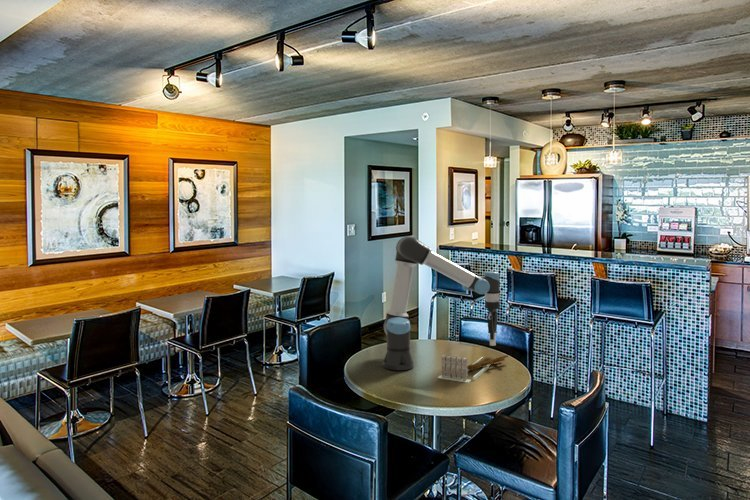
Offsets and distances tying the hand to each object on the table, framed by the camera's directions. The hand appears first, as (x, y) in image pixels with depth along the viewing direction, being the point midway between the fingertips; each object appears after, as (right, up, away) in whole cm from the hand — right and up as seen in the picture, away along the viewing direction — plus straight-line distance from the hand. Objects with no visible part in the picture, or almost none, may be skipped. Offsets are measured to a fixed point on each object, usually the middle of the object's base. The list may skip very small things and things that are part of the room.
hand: (492, 345), depth 264 cm
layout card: (-26, -9, -36) cm, 45 cm away
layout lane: (-12, -8, -20) cm, 25 cm away
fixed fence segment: (-26, -8, -36) cm, 45 cm away
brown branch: (-10, -7, -15) cm, 19 cm away
